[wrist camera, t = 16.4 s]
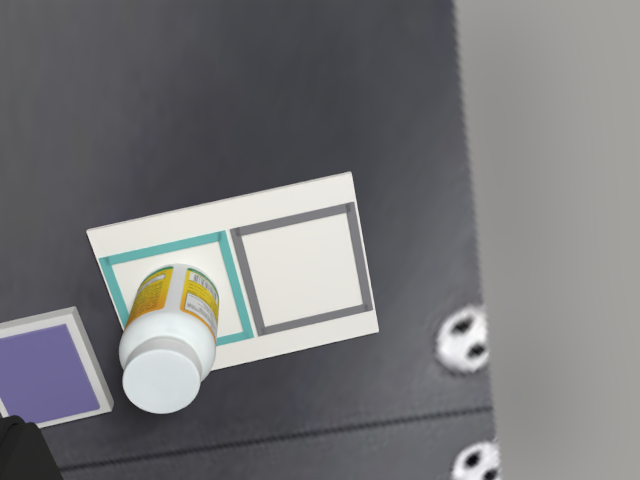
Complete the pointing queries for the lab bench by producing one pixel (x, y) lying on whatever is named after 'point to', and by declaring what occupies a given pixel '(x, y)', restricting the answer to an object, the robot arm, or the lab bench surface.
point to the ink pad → (50, 370)
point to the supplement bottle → (169, 338)
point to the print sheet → (257, 265)
